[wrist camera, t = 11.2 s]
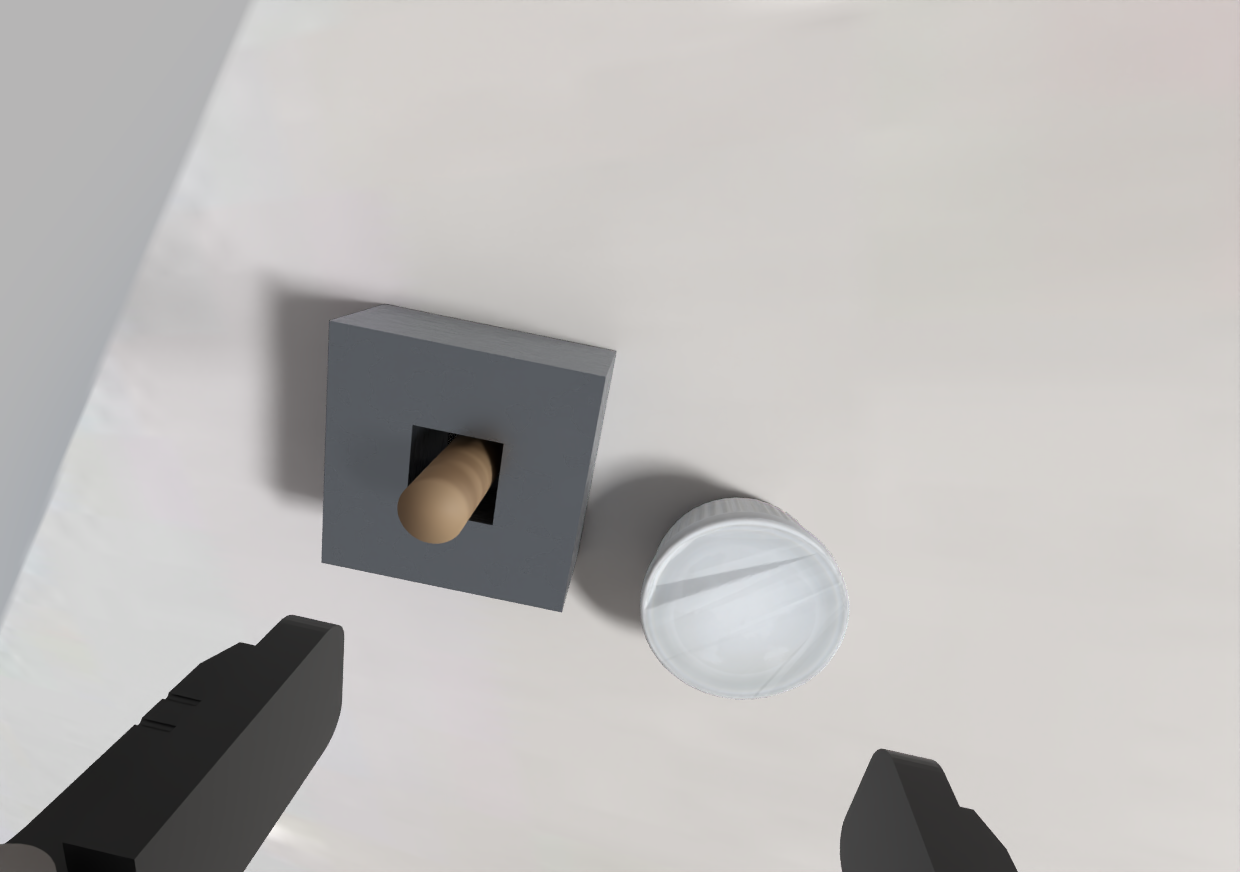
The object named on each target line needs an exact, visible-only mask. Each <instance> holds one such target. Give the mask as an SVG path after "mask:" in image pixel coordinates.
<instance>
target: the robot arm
mask: <svg viewBox="0 0 1240 872" xmlns="http://www.w3.org/2000/svg"><path fill="white" fill-rule="evenodd" d="M343 657H344V631H343V628H342V627H341V626H339V625H336V624H331V623H327V622H322V621H318V620H313V619H309V618H304V617H300V616H295V615H289V616H286V617H285V618H283V619H282V620H281V621H280V622H279V623H278V624H277V625H276V626H275V627H274V628H273V629H272V630H271V631H270V632H269V633H268V634H267V635H266V636H265V637H264V638H263V639H262V640H261V641H260V642H259V643H258V644H257V645H256V646H254V645H250V644H246V643H241V642H240V643H238V644H236V645H234V646H232V647H230V648H228V649H226V650H225V651H223V652H221V653H219V654H217V655H215V656H213V657H211V658H210V659H208V660H206V661H204V662H202V663H200V664H199V665H198V666H197V667H196V668H195V669H194V670H193V671H192V672H190V673H189V674H188V675H187V676H186V677H185V678H184V679H183V680H182V681H181V682H180V683H179V684H178V685H177V686H176V687H174V688H173V689H172V690H171V691H170V692H169V694H168V697H167V698H166V699H162V700H161V701H159V702H158V703H157V704H156V705H155V706H154V707H153V708H152V709H151V710H150V711H149V712H148V713H147V714H146V715H145V716H143V717H142V720H141V722H140V724H139V725H134V726H133V727H132V728H131V729H130V730H128V731H127V732H126V733H125V734H124V735H123V736H122V737H121V738H120V739H119V740H118V741H117V742H116V743H115V744H113V745H112V746H111V747H110V748H109V749H108V750H107V751H106V752H105V753H104V754H103V755H102V756H101V757H100V758H99V759H97V760H96V761H95V762H94V763H93V764H92V765H91V766H90V767H89V768H88V769H87V770H86V771H85V772H84V773H82V774H81V775H80V776H79V777H78V778H77V779H76V780H75V781H74V782H73V783H72V784H71V785H70V786H69V787H68V788H66V789H65V790H64V791H63V792H62V793H61V794H60V795H59V796H58V797H57V798H56V799H55V800H54V801H53V802H51V803H50V804H49V805H48V806H47V807H46V808H45V809H44V810H43V811H42V812H41V813H40V814H39V815H38V816H37V817H35V818H34V819H33V820H32V821H31V822H30V823H29V824H28V825H27V826H26V827H25V828H24V829H22V830H21V831H20V832H19V833H18V834H17V835H15V836H14V837H13V838H12V839H10V840H9V841H8V842H6V843H5V844H0V872H244V870H245V869H246V867H247V866H248V864H249V863H250V861H251V860H252V858H253V857H254V855H255V854H256V852H257V851H258V849H259V848H260V846H261V845H262V843H263V842H264V840H265V839H266V837H267V836H268V834H269V833H270V831H271V830H272V828H273V827H274V825H275V824H276V822H277V821H278V819H279V818H280V816H281V815H282V813H283V812H284V810H285V809H286V807H287V806H288V804H289V803H290V801H291V800H292V798H293V797H294V795H295V794H296V792H297V791H298V789H299V788H300V786H301V785H302V783H303V782H304V780H305V779H306V777H307V776H308V774H309V773H310V771H311V770H312V768H313V767H314V765H315V764H316V762H317V761H318V759H319V758H320V756H321V755H322V753H323V752H324V750H325V749H326V747H327V745H328V743H329V742H330V740H331V738H332V735H333V733H334V731H335V728H336V725H337V723H338V719H339V716H340V711H341V706H342V685H343ZM840 860H841V867H842V872H1018V871H1017V869H1016V867H1015V865H1014V863H1013V861H1012V859H1011V857H1010V855H1009V853H1008V851H1007V849H1006V848H1005V847H1004V846H1003V844H1002V843H1001V842H1000V841H999V840H998V838H997V837H996V836H995V835H994V834H993V832H992V831H991V830H990V829H989V828H988V827H987V825H986V824H985V823H984V822H983V821H982V819H981V818H980V817H979V816H978V815H977V813H976V812H975V811H974V810H972V809H968V808H963V807H960V806H959V804H958V802H957V800H956V798H955V795H954V793H953V791H952V789H951V787H950V784H949V782H948V780H947V778H946V776H945V773H944V772H943V770H942V768H941V767H940V765H939V764H938V763H937V762H936V761H934V760H931V759H926V758H922V757H917V756H913V755H908V754H904V753H899V752H895V751H890V750H886V749H879V750H877V751H876V752H875V753H874V754H873V756H872V758H871V760H870V762H869V765H868V767H867V769H866V772H865V774H864V776H863V778H862V781H861V783H860V785H859V787H858V790H857V792H856V794H855V796H854V799H853V801H852V803H851V805H850V808H849V810H848V812H847V814H846V817H845V819H844V822H843V826H842V831H841V838H840Z"/></svg>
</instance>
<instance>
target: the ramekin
mask: <svg viewBox="0 0 1240 872" xmlns="http://www.w3.org/2000/svg"><path fill="white" fill-rule="evenodd" d="M640 617H641V623H642V627H643V631H644V634H645V637H646V640H647V642H648V644H649V646H650V648H651V650H652V651H653V653H654V654H655V656H656V657H657V659H658V660H659V661H660V662H661V664H662V665H663V666H664V667H665V668H666V669H667V670H668V671H670V672H671V673H672V674H673V675H674V676H676V677H677V678H678V679H680V680H681V681H682V682H684V683H686V684H687V685H689V686H691V687H693V688H695V689H697V690H700V691H702V692H705V693H708V694H711V695H715V696H719V697H724V698H730V699H737V700H743V699H757V698H764V697H769V696H774V695H777V694H781V693H784V692H786V691H789V690H791V689H794V688H796V687H798V686H800V685H802V684H804V683H806V682H807V681H809V680H810V679H811V678H812V677H814V676H816V675H817V674H818V673H820V672H821V671H822V670H823V669H824V667H825V666H826V665H827V664H828V663H829V662H830V660H831V659H832V657H833V656H834V654H835V653H836V651H837V650H838V648H839V647H840V645H841V643H842V640H843V638H844V635H845V632H846V629H847V625H848V619H849V595H848V591H847V587H846V583H845V580H844V577H843V575H842V572H841V570H840V568H839V566H838V564H837V562H836V560H835V559H834V557H833V555H832V554H831V553H830V551H829V550H828V549H827V548H826V546H825V545H824V544H823V543H822V542H821V541H820V540H819V539H818V538H817V537H816V536H814V535H813V534H812V533H811V532H809V531H808V530H806V529H805V528H804V527H803V526H802V525H801V524H800V523H799V522H798V521H797V520H796V519H795V518H793V517H792V516H791V515H790V514H788V513H787V512H784V511H783V510H781V509H780V508H778V507H775V506H773V505H771V504H770V503H766V502H762V501H760V500H757V499H749V498H738V497H735V498H724V499H720V500H714V501H711V502H709V503H704V504H702V505H700V506H699V507H696V508H694V509H692V510H691V511H690V512H688V513H686V514H684V515H683V516H682V518H680V519H679V520H678V521H676V523H675V524H674V525H673V526H672V527H671V528H670V529H669V531H668V533H667V534H666V535H665V536H664V538H663V540H662V542H661V543H660V545H659V547H658V550H657V552H656V555H655V557H654V559H653V560H652V562H651V564H650V566H649V568H648V570H647V572H646V575H645V578H644V581H643V585H642V590H641V597H640Z"/></svg>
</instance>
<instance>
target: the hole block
mask: <svg viewBox="0 0 1240 872" xmlns="http://www.w3.org/2000/svg"><path fill="white" fill-rule="evenodd" d="M615 356H616V351H614V350H609V349H604V348H599V347H594V346H589V345H584V344H579V343H574V342H569V341H564V340H560V339H555V338H550V337H545V336H540V335H535V334H530V333H525V332H520V331H515V330H510V329H505V328H501V327H496V326H491V325H486V324H481V323H476V322H471V321H466V320H461V319H456V318H451V317H447V316H442V315H437V314H432V313H427V312H422V311H417V310H412V309H407V308H402V307H397V306H392V305H388V304H383V305H380V306H377V307H373V308H370V309H366V310H363V311H360V312H356V313H353V314H349V315H346V316H343V317H339V318H336V319H333V320H329V345H328V376H327V407H326V438H325V470H324V501H323V532H322V563H326V564H331V565H336V566H341V567H346V568H350V569H355V570H360V571H365V572H370V573H375V574H379V575H384V576H389V577H394V578H399V579H404V580H408V581H413V582H418V583H423V584H428V585H432V586H437V587H442V588H447V589H452V590H457V591H461V592H466V593H471V594H476V595H481V596H486V597H490V598H495V599H500V600H505V601H510V602H515V603H519V604H524V605H529V606H534V607H539V608H544V609H548V610H553V611H558V612H562V610H563V606H564V603H565V599H566V596H567V592H568V588H569V585H570V581H571V577H572V574H573V570H574V566H575V563H576V559H577V555H578V550H579V545H580V540H581V534H582V529H583V524H584V519H585V513H586V508H587V503H588V498H589V492H590V487H591V482H592V477H593V471H594V466H595V461H596V456H597V450H598V445H599V440H600V435H601V429H602V424H603V419H604V414H605V408H606V403H607V398H608V393H609V387H610V382H611V377H612V372H613V366H614V361H615ZM449 432H450V433H455V434H460V435H464V436H469V437H474V438H479V439H484V440H489V441H494V442H499V443H503V444H504V446H503V453H502V460H501V468H500V475H498V476H497V477H496V479H495V480H494V482H493V483H492V485H491V486H490V488H489V489H488V491H487V492H486V494H485V496H484V497H483V499H482V500H481V502H480V503H479V505H478V506H477V508H476V509H475V511H474V512H473V514H472V515H471V517H470V518H469V520H468V521H467V523H466V524H465V526H464V527H463V529H462V530H461V532H460V533H459V534H458V535H457V536H456V537H455V538H454V539H452V540H450V541H448V542H445V543H439V544H432V543H427V542H423V541H421V540H419V539H417V538H415V537H413V536H412V535H411V534H410V533H408V531H407V530H406V529H405V528H404V527H403V525H402V523H401V522H400V519H399V516H398V511H397V505H398V500H399V498H400V496H401V494H402V492H403V491H404V490H405V489H406V488H407V487H408V486H409V485H410V484H411V483H412V482H413V481H414V480H415V479H416V478H417V477H418V476H419V475H420V474H421V472H422V471H423V470H424V469H425V468H426V467H427V466H428V465H429V464H430V463H431V462H432V461H433V460H434V459H435V458H436V457H437V456H438V455H439V454H440V453H441V452H442V451H443V450H444V449H445V448H446V447H447V446H448V436H449Z"/></svg>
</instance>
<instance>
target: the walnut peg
mask: <svg viewBox="0 0 1240 872" xmlns="http://www.w3.org/2000/svg"><path fill="white" fill-rule="evenodd" d="M503 446H504V444H503V443H499V442H494V441H489V440H484V439H479V438H474V437H469V436H464V435H460V434H458V435H457V436H456V437H455V438H454V439H453V440H452V442H451V443H450V444H449V445H448V446H447V447H446V448H445V449H444V450H443V451H442V452H441V453H440V454H439V455H438V456H437V457H436V458H435V459H434V460H433V461H432V462H431V463H430V464H429V465H428V466H427V467H426V468H425V469H424V470H423V471H422V472H421V474H420V475H419V476H418V477H417V478H416V479H415V480H414V481H413V482H412V483H411V484H410V485H409V486H408V487H407V488H406V489H405V490H404V491H403V492H402V494H401V496H400V498H399V500H398V505H397V511H398V516H399V519H400V522H401V523H402V525H403V527H404V528H405V529H406V530H407V531H408V533H410V534H411V535H412V536H413V537H415V538H417V539H419V540H421V541H423V542H427V543H432V544H439V543H445V542H448V541H450V540H452V539H454V538H455V537H456V536H457V535H458V534H459V533H460V532H461V530H462V529H463V527H464V526H465V524H466V523H467V521H468V520H469V518H470V517H471V515H472V514H473V512H474V511H475V509H476V508H477V506H478V505H479V503H480V502H481V500H482V499H483V497H484V496H485V494H486V492H487V491H488V489H489V488H490V486H491V485H492V483H493V482H494V480H495V479H496V477H497V476H498V474H499V473H500V468H501V460H502V453H503Z"/></svg>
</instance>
